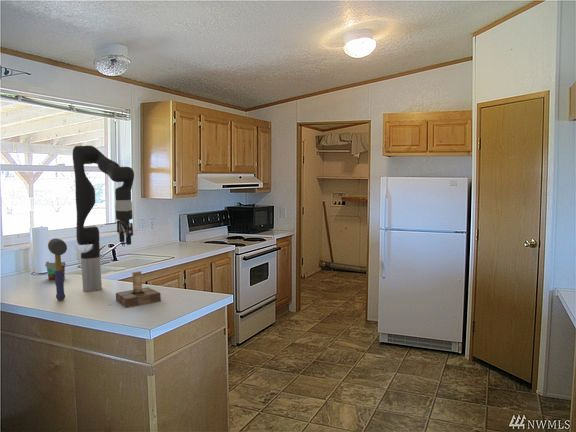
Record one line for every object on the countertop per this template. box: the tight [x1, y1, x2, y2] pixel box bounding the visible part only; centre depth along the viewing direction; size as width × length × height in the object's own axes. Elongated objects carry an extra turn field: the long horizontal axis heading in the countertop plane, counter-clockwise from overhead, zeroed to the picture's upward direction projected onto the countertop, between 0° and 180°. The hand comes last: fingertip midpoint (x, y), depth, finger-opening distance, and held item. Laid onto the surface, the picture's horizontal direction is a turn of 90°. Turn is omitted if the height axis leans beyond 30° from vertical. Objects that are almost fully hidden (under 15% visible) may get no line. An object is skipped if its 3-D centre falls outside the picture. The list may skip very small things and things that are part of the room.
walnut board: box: [115, 287, 162, 309], centre depth 223 cm, size 15×16×4 cm
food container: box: [45, 260, 67, 281], centre depth 275 cm, size 12×6×10 cm, turn 76°
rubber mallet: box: [47, 238, 68, 302], centre depth 226 cm, size 12×8×30 cm, turn 34°
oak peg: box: [131, 270, 143, 295], centre depth 223 cm, size 4×4×14 cm
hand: (125, 243), depth 223 cm, fingers open, 8 cm apart
